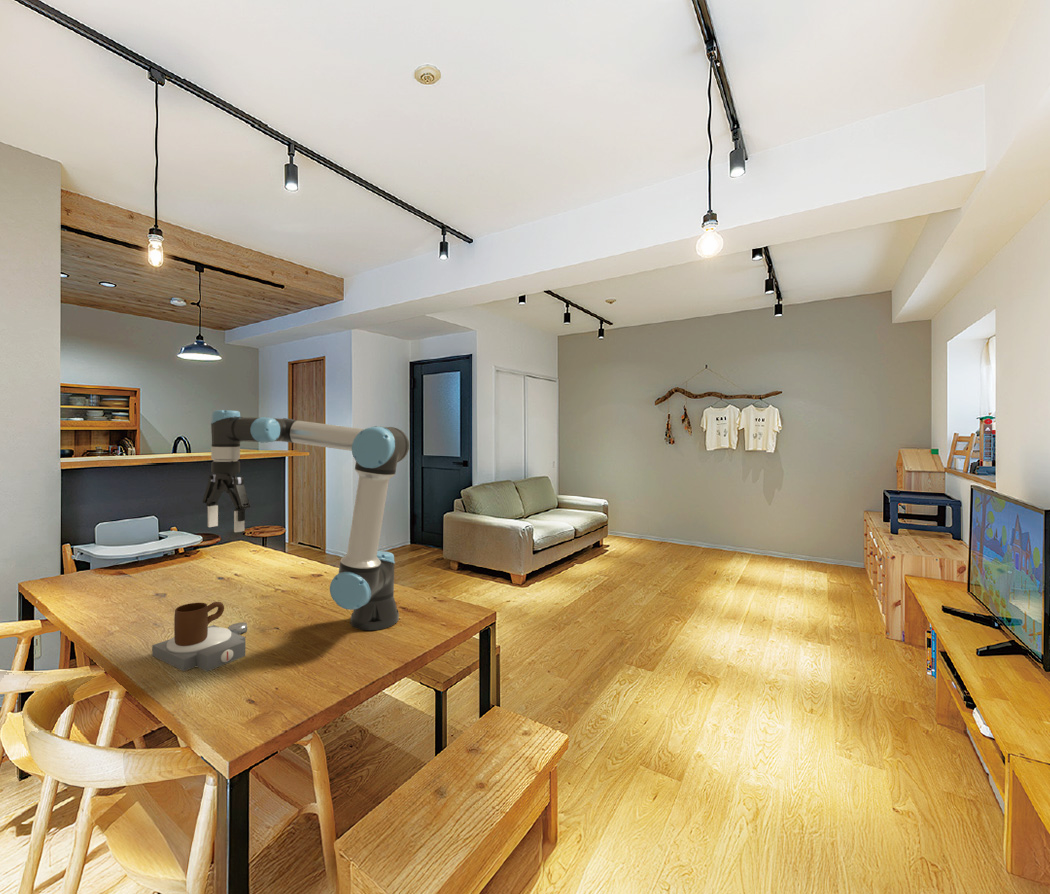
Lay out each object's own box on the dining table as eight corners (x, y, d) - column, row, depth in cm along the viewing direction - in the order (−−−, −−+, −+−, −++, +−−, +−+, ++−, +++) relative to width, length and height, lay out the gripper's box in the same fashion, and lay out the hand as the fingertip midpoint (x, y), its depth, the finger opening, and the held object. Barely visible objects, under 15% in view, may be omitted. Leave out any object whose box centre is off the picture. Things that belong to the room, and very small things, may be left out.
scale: (256, 651, 135) (256, 638, 135) (195, 676, 121) (195, 661, 121) (213, 634, 145) (213, 621, 145) (152, 655, 131) (152, 641, 131)
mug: (218, 627, 142) (218, 596, 141) (229, 634, 137) (229, 602, 137) (169, 641, 132) (170, 607, 132) (180, 649, 127) (180, 614, 127)
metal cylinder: (247, 627, 151) (246, 621, 151) (247, 632, 147) (247, 626, 147) (228, 631, 149) (228, 624, 149) (228, 636, 144) (228, 630, 144)
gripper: (263, 461, 145) (262, 531, 146) (214, 458, 157) (214, 522, 157) (238, 463, 139) (238, 536, 139) (189, 459, 150) (189, 526, 151)
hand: (225, 529), depth 148 cm, fingers open, 13 cm apart
